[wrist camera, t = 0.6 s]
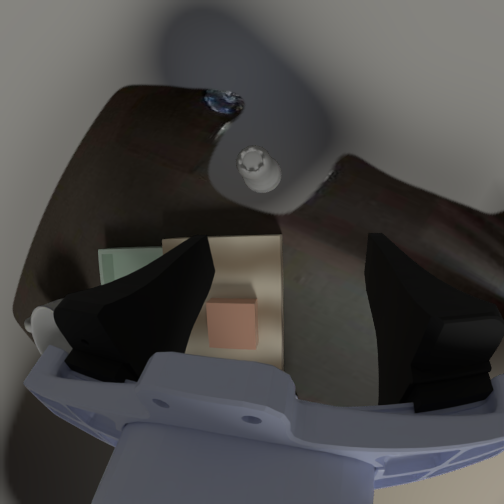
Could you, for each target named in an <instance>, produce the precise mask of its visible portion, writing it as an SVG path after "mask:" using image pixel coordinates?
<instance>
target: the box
mask: <svg viewBox="0 0 504 504" xmlns="http://www.w3.org/2000/svg"><path fill="white" fill-rule="evenodd" d="M162 255H163V249H162V246H149V247H119V248H106V249H99V250H98V257H99V268H100V278H101V285H104V284H106V283H109V282H112V281H114V280H117V279H119V278H121V277H124V276H126V275H128V274H130V273H132V272H134V271H136V270H138V269H140V268H142V267H144V266H146V265H147V264H149V263H151V262H152V261H154V260H156V259H157V258H159V257H161V256H162Z"/></svg>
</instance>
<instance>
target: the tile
mask: <svg viewBox="0 0 504 504" xmlns="http://www.w3.org/2000/svg"><path fill="white" fill-rule="evenodd" d="M206 312H207V325H208V337H209V347H211V348H227V349H248V350H256V348H257V346H258V343H259V336H258V303H257V299H241V298H211V299H210V300H209V301H207V302H206Z"/></svg>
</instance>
